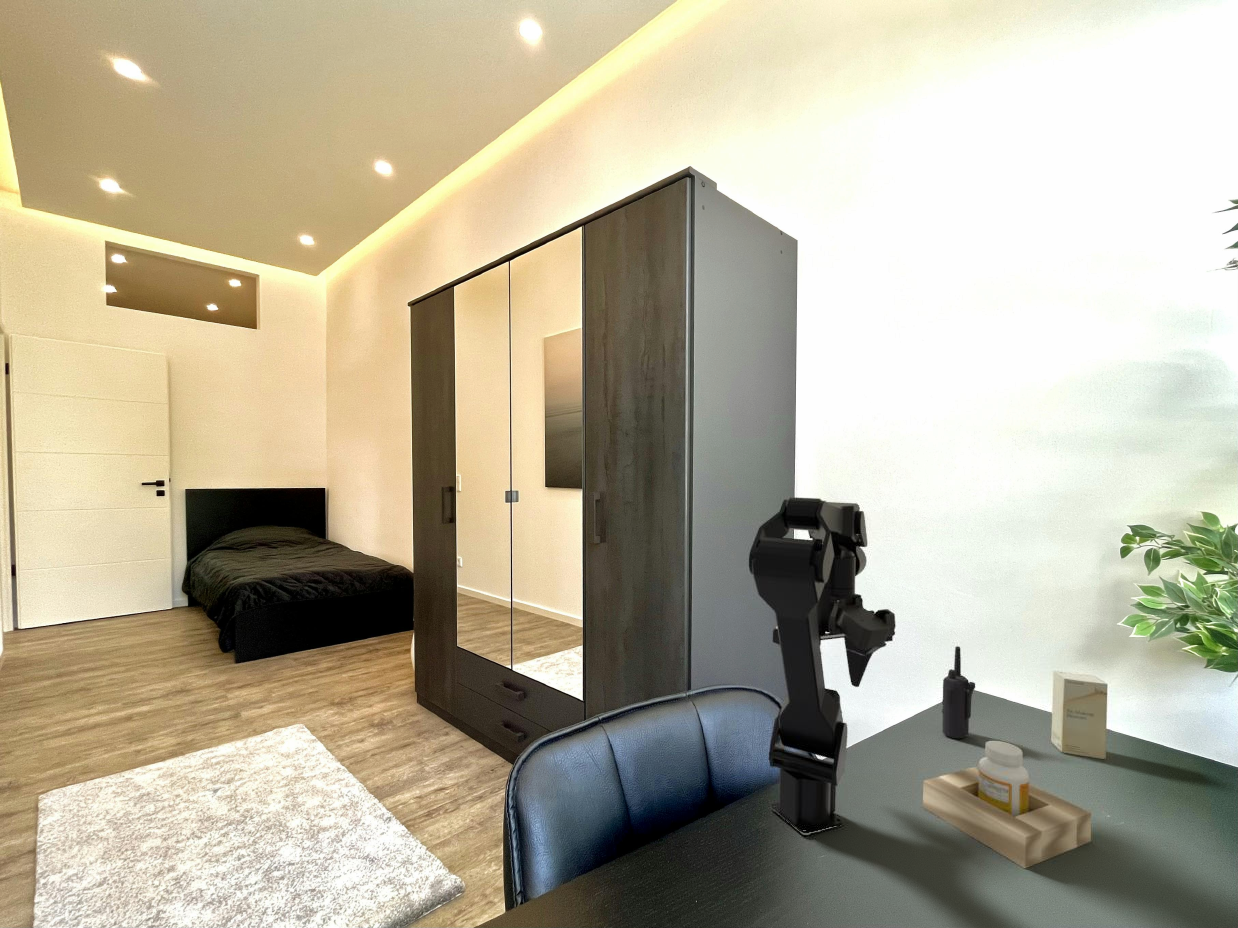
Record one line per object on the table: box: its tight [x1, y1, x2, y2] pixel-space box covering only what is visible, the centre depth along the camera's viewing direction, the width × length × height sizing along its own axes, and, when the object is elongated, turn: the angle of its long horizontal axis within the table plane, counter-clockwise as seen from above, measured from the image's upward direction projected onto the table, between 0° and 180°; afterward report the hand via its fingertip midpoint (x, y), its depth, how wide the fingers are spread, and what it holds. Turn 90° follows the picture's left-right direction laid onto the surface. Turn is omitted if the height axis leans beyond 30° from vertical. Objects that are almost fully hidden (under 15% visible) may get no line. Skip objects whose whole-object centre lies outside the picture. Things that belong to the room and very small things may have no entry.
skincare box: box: [1050, 670, 1108, 760], centre depth 96 cm, size 6×4×12 cm
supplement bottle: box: [978, 740, 1030, 817], centre depth 75 cm, size 5×5×10 cm
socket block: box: [922, 765, 1092, 869], centre depth 74 cm, size 13×13×4 cm
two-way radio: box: [941, 646, 976, 740], centre depth 100 cm, size 6×4×15 cm
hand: (832, 689), depth 87 cm, fingers open, 9 cm apart
